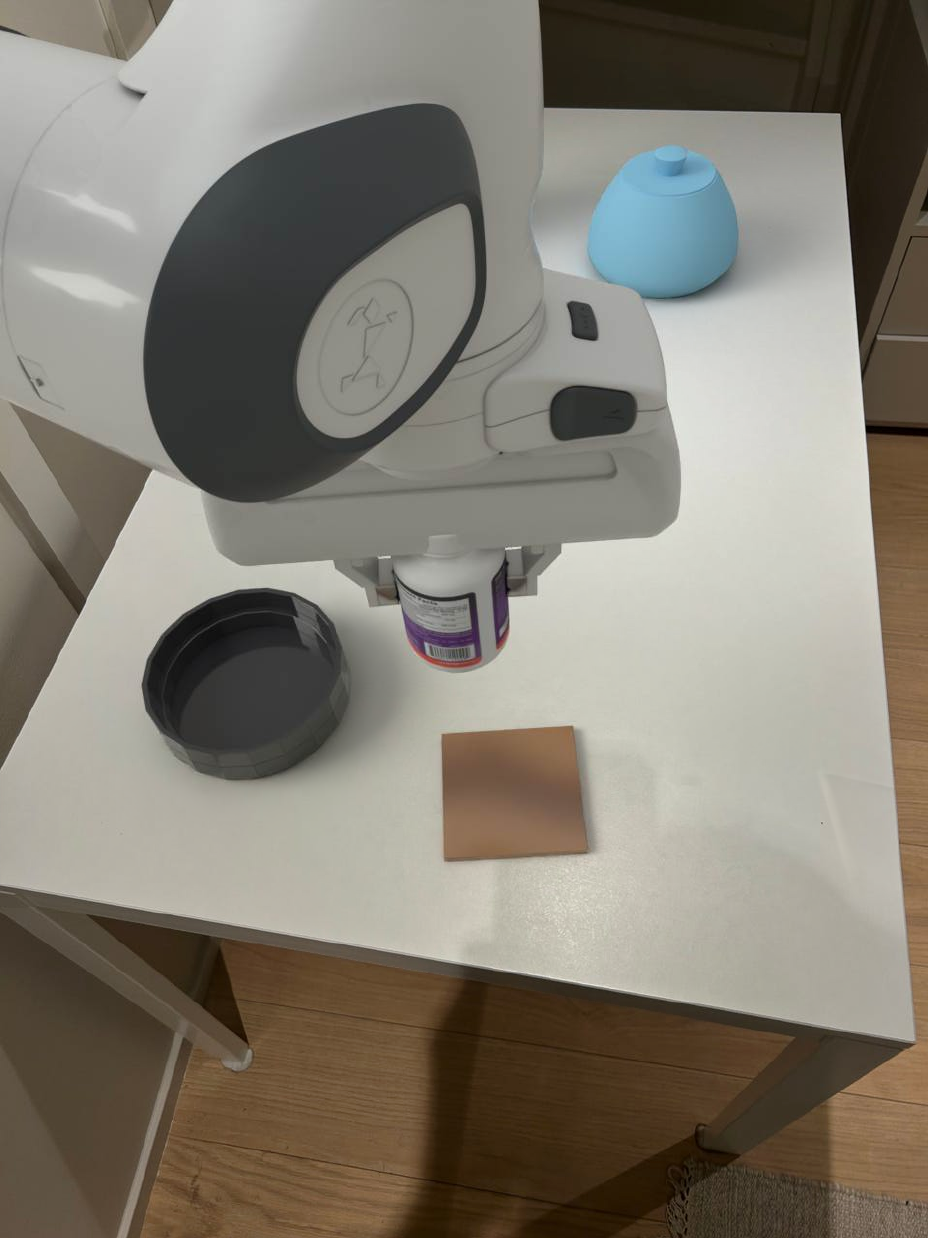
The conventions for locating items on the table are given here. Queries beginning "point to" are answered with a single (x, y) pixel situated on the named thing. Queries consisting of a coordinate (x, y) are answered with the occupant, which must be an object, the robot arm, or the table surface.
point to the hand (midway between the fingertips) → (454, 591)
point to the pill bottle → (454, 604)
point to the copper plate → (511, 794)
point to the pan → (247, 683)
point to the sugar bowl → (664, 225)
